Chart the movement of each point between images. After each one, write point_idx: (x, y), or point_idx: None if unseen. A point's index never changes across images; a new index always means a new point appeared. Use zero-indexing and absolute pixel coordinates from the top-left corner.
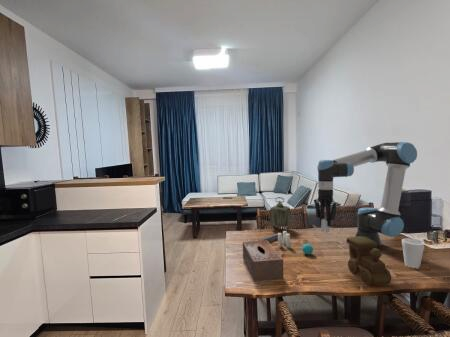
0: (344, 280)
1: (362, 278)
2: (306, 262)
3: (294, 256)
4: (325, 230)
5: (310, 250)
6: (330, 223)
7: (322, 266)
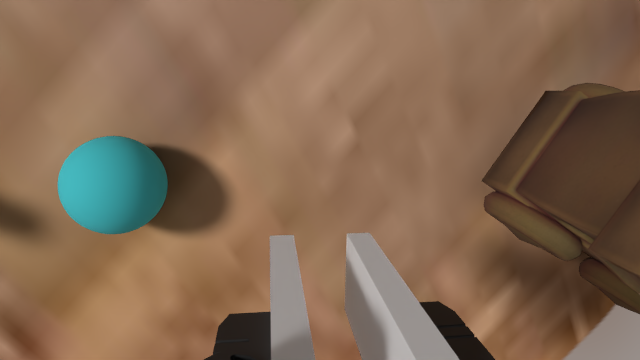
0: (496, 322)
1: (587, 279)
2: (221, 299)
3: (93, 284)
4: (351, 326)
5: (160, 205)
6: (474, 352)
7: (329, 269)
